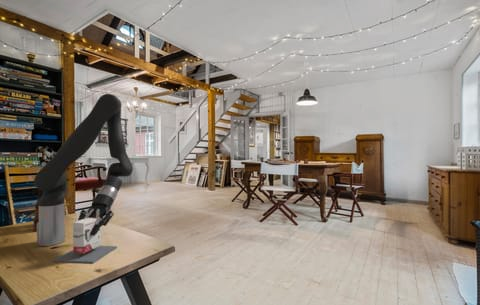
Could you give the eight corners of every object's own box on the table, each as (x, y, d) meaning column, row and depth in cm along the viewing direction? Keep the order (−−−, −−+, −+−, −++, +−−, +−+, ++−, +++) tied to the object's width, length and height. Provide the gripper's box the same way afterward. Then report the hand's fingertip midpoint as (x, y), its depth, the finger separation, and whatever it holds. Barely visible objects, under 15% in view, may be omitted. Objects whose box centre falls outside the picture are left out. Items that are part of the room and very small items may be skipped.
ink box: (83, 254, 90) (82, 223, 90) (72, 253, 91) (71, 222, 91) (101, 245, 98) (100, 216, 98) (91, 244, 99) (90, 216, 99)
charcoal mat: (53, 261, 88) (53, 259, 88) (82, 246, 102) (82, 245, 102) (93, 263, 87) (93, 261, 87) (117, 247, 101) (117, 246, 101)
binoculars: (34, 224, 134) (34, 189, 134) (53, 221, 139) (52, 187, 139) (32, 233, 120) (31, 193, 120) (52, 229, 125) (52, 191, 125)
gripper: (85, 192, 104) (63, 229, 92) (116, 193, 102) (97, 230, 90) (94, 202, 109) (74, 238, 97) (124, 202, 107) (107, 239, 96)
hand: (85, 234), depth 94 cm, fingers closed on ink box, 5 cm apart
